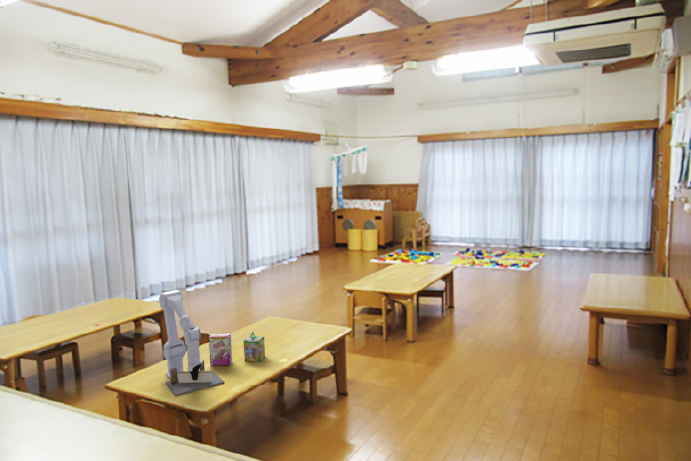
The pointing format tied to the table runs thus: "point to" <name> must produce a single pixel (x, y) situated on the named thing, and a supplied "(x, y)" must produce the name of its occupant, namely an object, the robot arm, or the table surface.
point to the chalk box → (254, 348)
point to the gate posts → (174, 373)
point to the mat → (194, 385)
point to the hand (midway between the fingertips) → (195, 379)
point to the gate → (186, 376)
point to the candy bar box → (220, 349)
